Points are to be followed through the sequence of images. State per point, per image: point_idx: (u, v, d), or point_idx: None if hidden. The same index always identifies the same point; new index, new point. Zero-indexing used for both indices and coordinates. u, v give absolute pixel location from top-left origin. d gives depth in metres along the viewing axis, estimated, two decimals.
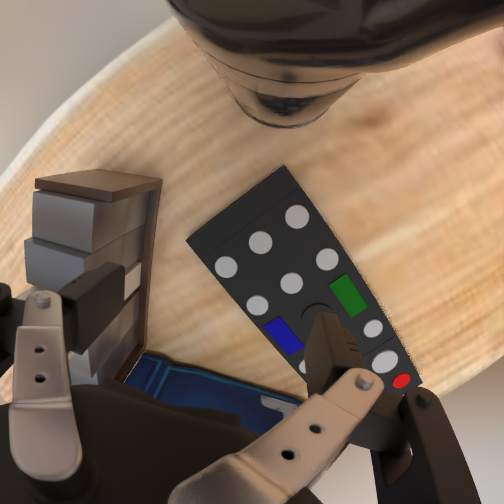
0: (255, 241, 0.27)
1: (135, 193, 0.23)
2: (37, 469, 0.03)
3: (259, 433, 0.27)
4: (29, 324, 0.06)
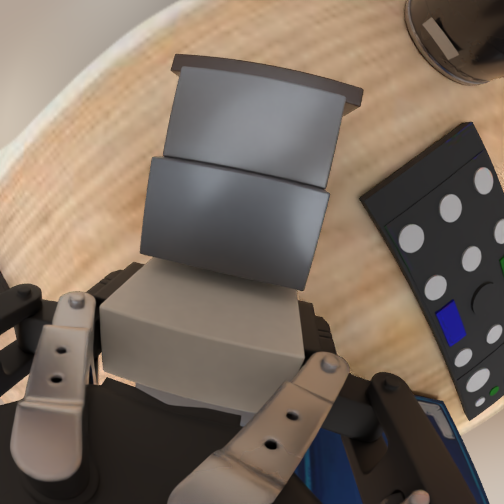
0: (446, 206, 0.19)
1: None
2: (37, 469, 0.03)
3: None
4: (58, 323, 0.07)
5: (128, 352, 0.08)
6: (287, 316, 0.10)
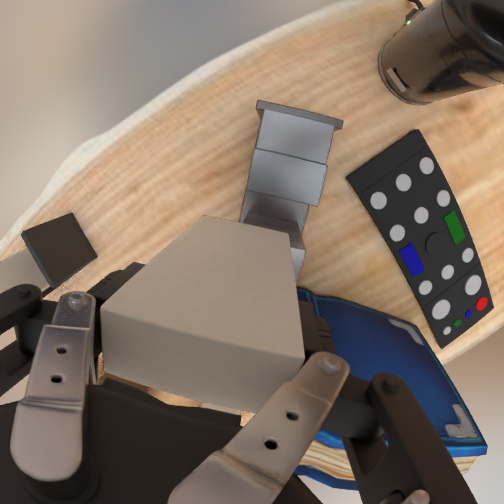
0: (400, 181, 0.33)
1: None
2: (37, 469, 0.03)
3: (402, 341, 0.33)
4: (58, 323, 0.07)
5: (129, 352, 0.08)
6: (288, 316, 0.10)
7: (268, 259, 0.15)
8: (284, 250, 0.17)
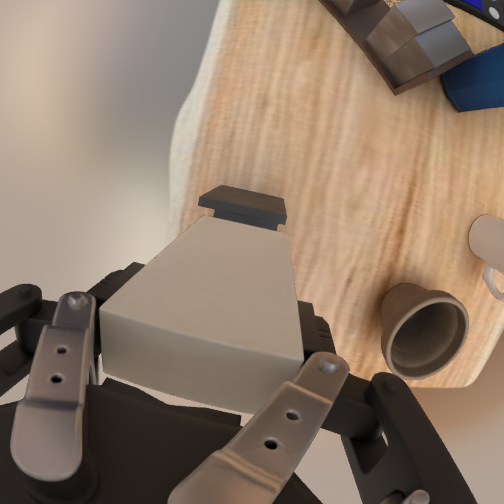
0: None
1: None
2: (37, 469, 0.03)
3: None
4: (58, 323, 0.07)
5: (128, 353, 0.08)
6: (287, 318, 0.10)
7: (268, 260, 0.15)
8: (284, 251, 0.17)
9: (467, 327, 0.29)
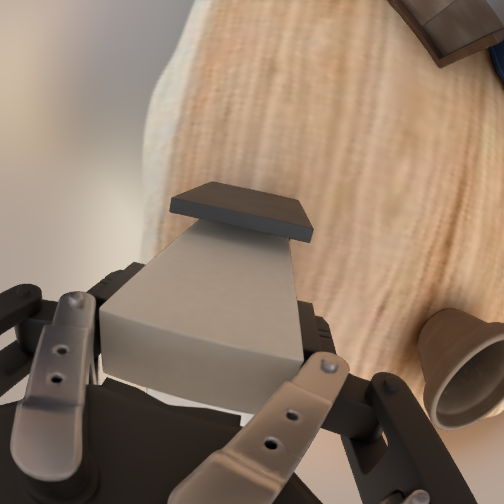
0: None
1: None
2: (37, 469, 0.03)
3: None
4: (58, 323, 0.07)
5: (128, 354, 0.08)
6: (286, 318, 0.10)
7: (268, 260, 0.15)
8: (284, 251, 0.17)
9: None
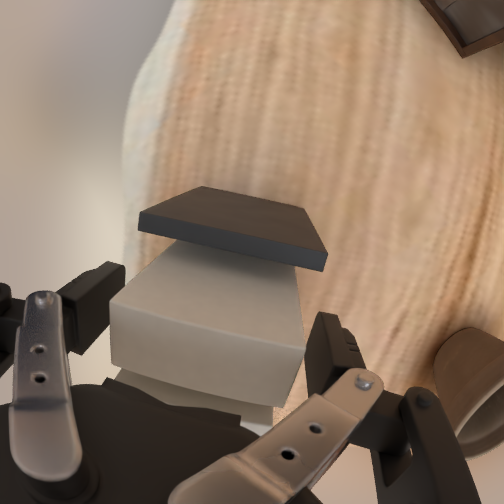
0: None
1: None
2: (37, 469, 0.03)
3: None
4: (29, 324, 0.06)
5: (137, 345, 0.09)
6: (289, 310, 0.10)
7: None
8: None
9: None
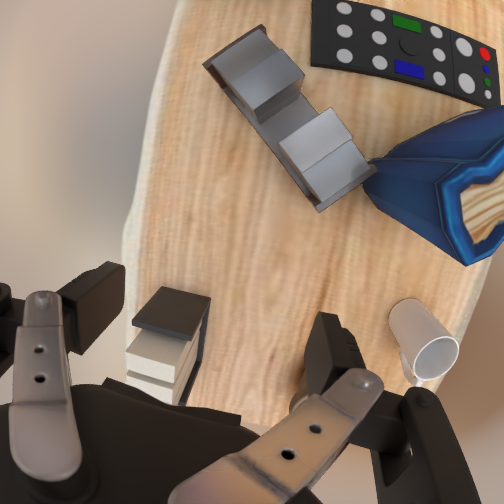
0: (342, 32, 0.31)
1: None
2: (37, 469, 0.03)
3: (465, 119, 0.27)
4: (29, 324, 0.06)
5: (132, 363, 0.31)
6: (176, 354, 0.33)
7: None
8: None
9: None
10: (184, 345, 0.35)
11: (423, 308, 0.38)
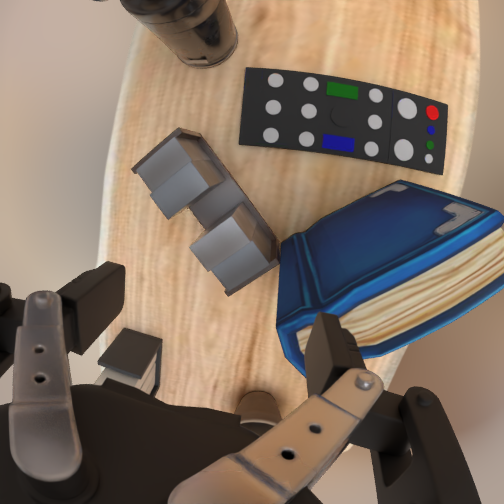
0: (270, 108, 0.38)
1: (190, 133, 0.36)
2: (37, 469, 0.03)
3: (383, 202, 0.35)
4: (29, 324, 0.06)
5: None
6: None
7: None
8: None
9: None
10: (136, 381, 0.43)
11: None
